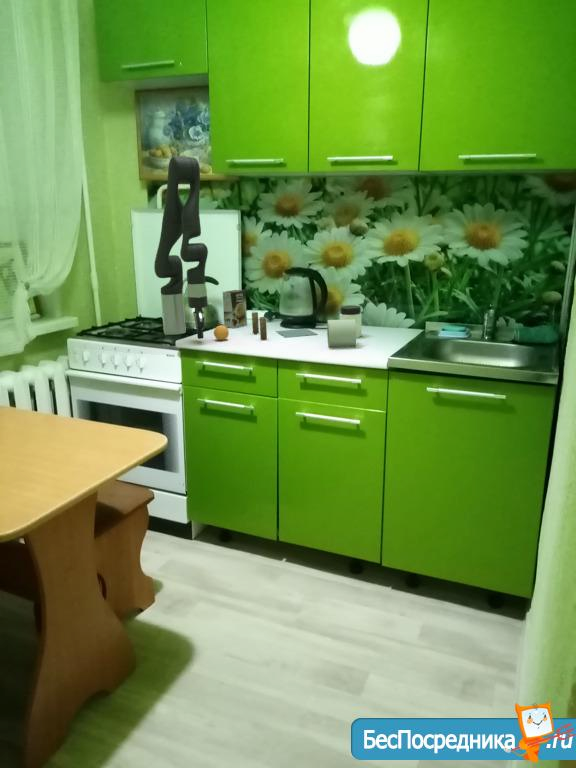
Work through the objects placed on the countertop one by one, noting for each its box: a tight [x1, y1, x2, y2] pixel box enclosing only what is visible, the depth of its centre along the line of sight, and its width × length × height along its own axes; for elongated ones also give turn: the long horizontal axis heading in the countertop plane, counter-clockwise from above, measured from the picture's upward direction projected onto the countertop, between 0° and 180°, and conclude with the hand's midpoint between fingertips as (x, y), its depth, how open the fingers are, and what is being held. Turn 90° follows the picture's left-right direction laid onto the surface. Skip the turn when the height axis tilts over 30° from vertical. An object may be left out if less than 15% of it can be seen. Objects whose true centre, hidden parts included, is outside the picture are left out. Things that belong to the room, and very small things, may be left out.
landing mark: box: [275, 328, 318, 338], centre depth 251 cm, size 14×14×1 cm
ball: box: [213, 324, 230, 341], centre depth 241 cm, size 6×6×6 cm
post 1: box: [251, 311, 260, 335], centre depth 251 cm, size 3×3×9 cm
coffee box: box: [222, 289, 248, 329], centre depth 269 cm, size 9×6×16 cm
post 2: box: [259, 316, 268, 341], centre depth 239 cm, size 3×3×9 cm
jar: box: [339, 304, 362, 339], centre depth 239 cm, size 9×8×12 cm
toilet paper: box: [326, 319, 357, 348], centre depth 223 cm, size 10×10×10 cm
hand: (200, 338), depth 239 cm, fingers closed
